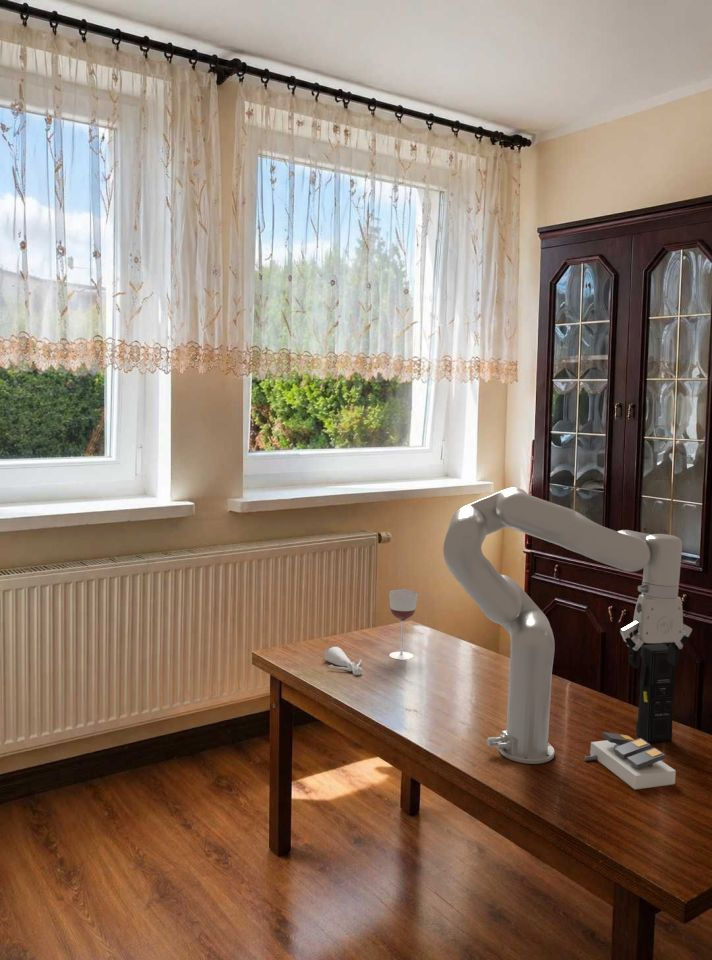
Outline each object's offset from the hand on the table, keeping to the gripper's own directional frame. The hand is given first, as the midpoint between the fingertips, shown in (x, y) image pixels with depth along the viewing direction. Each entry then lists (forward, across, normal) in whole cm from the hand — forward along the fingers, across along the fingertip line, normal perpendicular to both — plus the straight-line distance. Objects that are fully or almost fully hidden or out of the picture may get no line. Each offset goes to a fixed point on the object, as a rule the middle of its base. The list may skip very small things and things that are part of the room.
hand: (653, 665), depth 187 cm
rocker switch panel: (+23, -6, -2) cm, 24 cm away
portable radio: (+23, +10, +12) cm, 28 cm away
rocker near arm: (+19, -5, +3) cm, 20 cm away
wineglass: (+24, -33, +80) cm, 90 cm away
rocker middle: (+19, -4, -2) cm, 20 cm away
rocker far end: (+19, -4, -7) cm, 21 cm away
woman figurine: (+25, -53, +74) cm, 94 cm away
